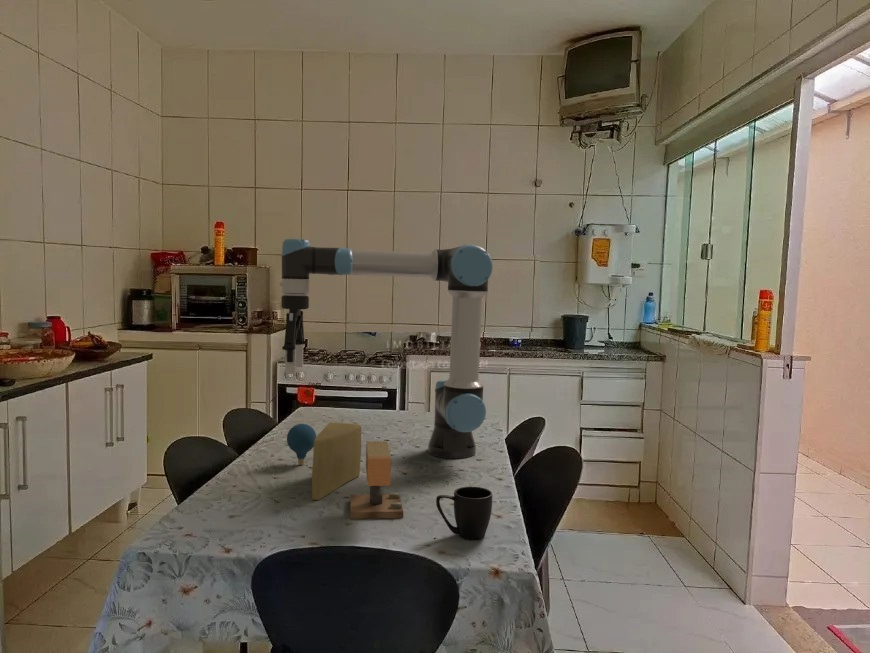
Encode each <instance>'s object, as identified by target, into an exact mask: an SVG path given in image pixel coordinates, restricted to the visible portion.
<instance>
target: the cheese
mask: <svg viewBox="0 0 870 653" xmlns="http://www.w3.org/2000/svg"><path fill="white" fill-rule="evenodd" d="M312 452H313V455H312V456H313V458H312V472H311V495H312V496H311V498H312V500H313V501H320V500H322V499H323V498H324V497H326V496H328V495H330V494H331V493H333V492H334V491H336V490H337V489H339V488H340V487H342V486H343V485H346V484H347V483H349V482H350V481H352V480H354V479H357V478H359V476H360V472H361V460H362V459H361V458H362V425H361V424H358V423H347V422H329V423H327V424H326V426H324V428H323V429H322V430H321V431H320V432H319V434H318V435H316V438H315V440H314V447H313V451H312Z"/></svg>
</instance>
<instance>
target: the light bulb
mask: <svg viewBox="0 0 870 653" xmlns="http://www.w3.org/2000/svg"><path fill="white" fill-rule="evenodd" d="M316 437H317V434H316V431H315V429H314V428H313V427H312V426H311V425H310V424H306V423H298V424H296V425H295V424H294V425H293V426H292V427H291V428H290V429H289V430H288V432H287V434H286V443H287V446H288V447H289V449H290V450H291V451H293V452H294V453H295V455H296V457H297V465H298V464H299V466H303V465H305V462H306V461H305V459H306V456H307V454H308V453H309V452H310V451H311V450H312V449H314V440H315V438H316Z"/></svg>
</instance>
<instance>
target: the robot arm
mask: <svg viewBox="0 0 870 653" xmlns="http://www.w3.org/2000/svg"><path fill="white" fill-rule="evenodd" d="M281 245H282V246H281V250H282V251H281V281H280V282H279V286H280V287H281V293H282V294H283V295H282V296H281V297H280V298H281V305H280V306H281V309H283V310H288V312H287V313H286V315H285V316H286V322H285V334H284V343H283V346H282V350H283V351H285V354H284V356H285V358H284V360H285V362H284V374H285V375H295V374H296V373H297V371H296V369H297V368H303V367H304V345H306V344H307V341H306V340H305V333H304V332H305V331H304V329H305V328H304V311H303V310H308V309H309V307H310V297H309V296H308V294H310V274H312V275H330V276H335V275H337V276H370V277H371V276H375V277H376V276H379V277H404V278H405V277H409V278H410V277H411V278H431V280H433V281H434V282H436V281H437V282H440V281H441V282H447V292H448V293H449V294H450V296H451V297H452V309H451V331H450V332H451V334H450V352H449V354H450V355H449V375H448V376H449V377H448V379H447V380H445V379H443V380H437V381H436V382H435V389H434V392H435V393H434V394H435V395H434V424H433V425H434V426H433V430H432V433H431V436H430V438H429V440H428V441H429V442H428V443H427V444H428V445H427V452H428V453H429V454H430V455H432V456H435V457H439V458H445V459H448V458H449V459H465V458H469V457H473V456H475V455H476V453H477V448H476V446H477V445H476V442H475V438H474V435H473V432H474V431H476V430H477V429H478V428H480V427H481V425H482V424H483V423H484V421H485V419H486V416H487V409H486V404H485V402H484V384H483V382H481V381H480V379H479V376H480V375H479V374H480V354H481V353H480V351H481V331H482V330H481V328H482V308H483V306H482V305H483V298H484V297H485V295H487V294H488V291H489V290H488V288H489V287H488V286H489V279H490V277H491V275H492V272H493V265H494V264H493V260H492V257H491V255H490V253H488V252H487V250H485V249H484V248H483V247H481V246H479V245H475V244H470V243H469V244H463V245H461V246H457V247H453V248H446V249H437V248H436V249H433V250H432V251H431V252H423V251H394V250H393V251H391V250H388V251H387V250H364V249H363V250H359V249H357V250H356V249H351V248H347V247H345V248H344V247H316V246H311V244H310V241H309V240H308V239H301V238H300V239H299V238H287V239H284V240H283V242H282V244H281Z"/></svg>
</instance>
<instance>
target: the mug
mask: <svg viewBox="0 0 870 653" xmlns="http://www.w3.org/2000/svg"><path fill="white" fill-rule="evenodd" d="M435 498H436V499H435V501H436V502H435V505H436V507H437V508H436V509H437V510H438V512H439V514H440V515H441V518H442V519H443V520H444V521H443V522H445V524H446V525H447V527H448V528H449V530H450V531H451V532H452V533H453V534H454V535H458V536H459V538H461V539H463V540H466V541H473V542H474V541H480V540H484V538H485V536H486V533H487V530H488V528H489V524H490V520H491V515H492V512H493V492H492V491H491V490H490V489H487V488H484V487H481V486H462V487H458V488H456V489H455V490H454V491H453V496H452V495H446V494H440V495H437V496H436V497H435ZM441 499H449V500H451V501H453V513H454V519H455V524H456V526H454V525H452V524H451V523H450V521H449V520H448V519H447V517H446V515H445V513H444V511H443V509H442V507H441V503H440V500H441Z"/></svg>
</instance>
